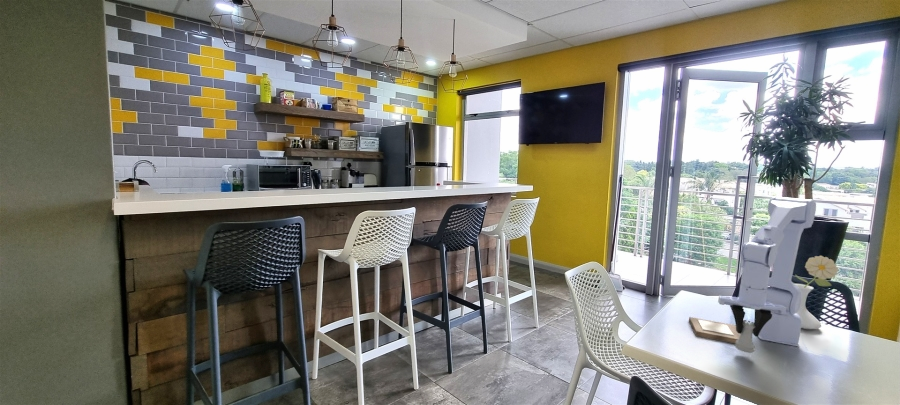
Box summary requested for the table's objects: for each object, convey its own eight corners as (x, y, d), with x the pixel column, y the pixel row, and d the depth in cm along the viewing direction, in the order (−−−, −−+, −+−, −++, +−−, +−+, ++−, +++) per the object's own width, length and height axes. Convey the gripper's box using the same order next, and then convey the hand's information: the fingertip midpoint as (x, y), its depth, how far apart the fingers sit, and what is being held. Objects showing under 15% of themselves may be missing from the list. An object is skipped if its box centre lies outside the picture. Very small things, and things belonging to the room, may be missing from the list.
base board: (739, 330, 121) (740, 325, 121) (751, 346, 110) (752, 341, 110) (688, 321, 126) (689, 316, 126) (695, 335, 116) (696, 330, 115)
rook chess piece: (758, 354, 101) (762, 326, 101) (739, 351, 102) (743, 323, 101) (748, 347, 106) (753, 320, 105) (731, 344, 106) (735, 317, 106)
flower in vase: (772, 323, 128) (783, 252, 125) (777, 315, 135) (788, 248, 132) (826, 338, 118) (839, 261, 115) (828, 328, 126) (841, 256, 123)
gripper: (725, 285, 101) (719, 333, 103) (794, 295, 95) (785, 346, 97) (719, 278, 108) (713, 323, 109) (782, 287, 102) (775, 334, 103)
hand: (746, 333), depth 104 cm, fingers closed on rook chess piece, 3 cm apart
